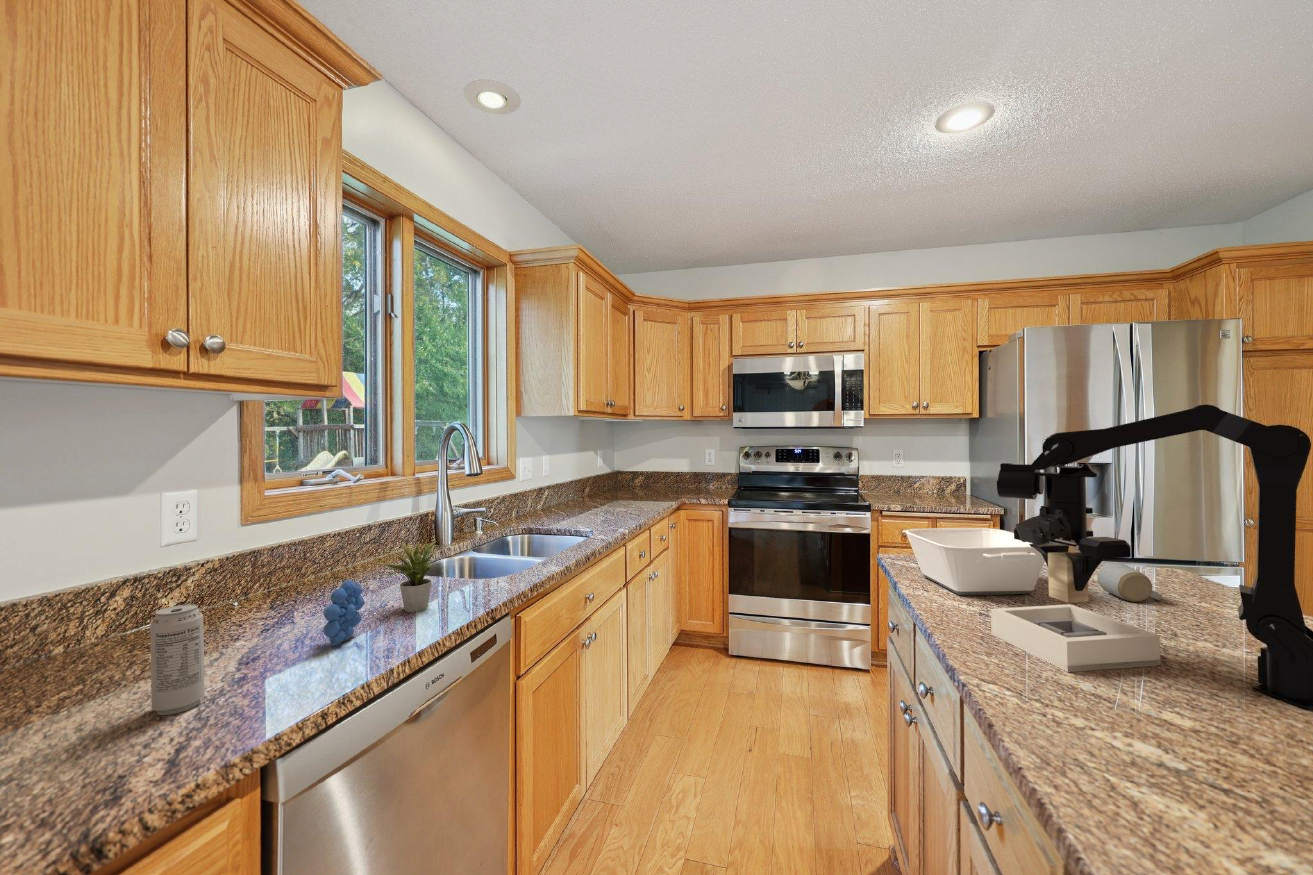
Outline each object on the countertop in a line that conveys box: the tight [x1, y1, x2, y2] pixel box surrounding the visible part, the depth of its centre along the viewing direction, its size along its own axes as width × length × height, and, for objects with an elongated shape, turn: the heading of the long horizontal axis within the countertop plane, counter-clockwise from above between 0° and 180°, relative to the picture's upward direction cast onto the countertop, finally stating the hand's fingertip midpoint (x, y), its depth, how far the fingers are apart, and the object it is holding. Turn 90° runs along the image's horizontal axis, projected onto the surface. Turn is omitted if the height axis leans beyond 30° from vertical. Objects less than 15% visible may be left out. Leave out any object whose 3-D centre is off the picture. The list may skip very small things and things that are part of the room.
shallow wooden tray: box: [990, 603, 1161, 673], centre depth 96 cm, size 17×17×5 cm
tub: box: [904, 527, 1046, 596], centre depth 137 cm, size 34×27×13 cm
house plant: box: [379, 540, 443, 613], centre depth 129 cm, size 14×14×16 cm
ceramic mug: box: [1096, 561, 1163, 603], centre depth 124 cm, size 11×8×8 cm
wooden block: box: [1047, 551, 1089, 604], centre depth 96 cm, size 4×4×8 cm
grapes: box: [322, 579, 366, 646], centre depth 108 cm, size 12×7×12 cm, turn 179°
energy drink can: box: [149, 603, 205, 716], centre depth 82 cm, size 6×6×15 cm
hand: (1068, 587), depth 96 cm, fingers closed on wooden block, 4 cm apart
